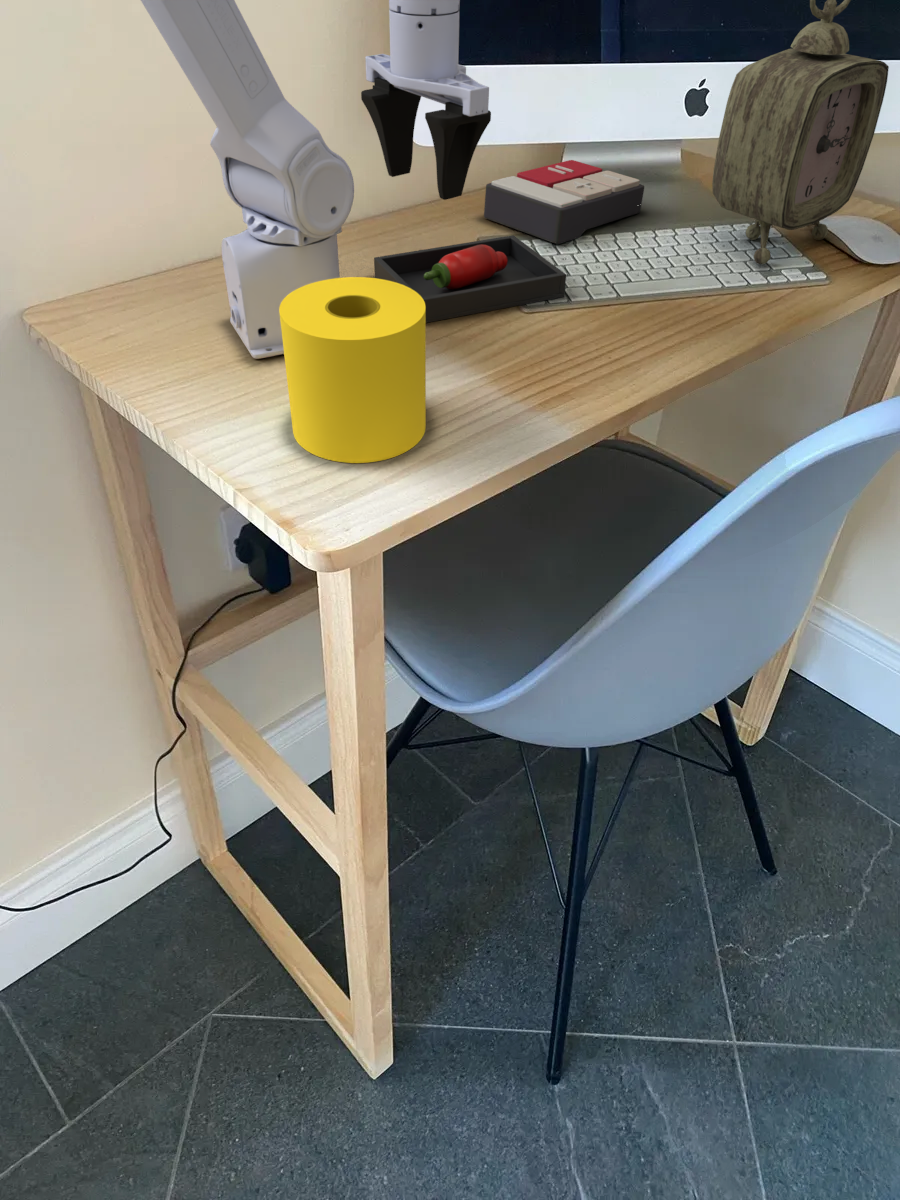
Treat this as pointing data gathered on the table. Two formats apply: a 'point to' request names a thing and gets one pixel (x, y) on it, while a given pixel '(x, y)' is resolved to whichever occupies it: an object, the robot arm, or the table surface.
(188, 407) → the table surface
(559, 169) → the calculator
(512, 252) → the tray
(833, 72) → the tabletop clock
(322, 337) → the yellow toilet paper roll
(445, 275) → the chili
